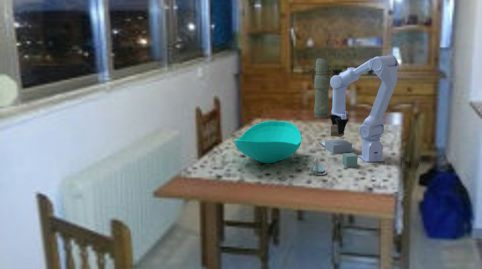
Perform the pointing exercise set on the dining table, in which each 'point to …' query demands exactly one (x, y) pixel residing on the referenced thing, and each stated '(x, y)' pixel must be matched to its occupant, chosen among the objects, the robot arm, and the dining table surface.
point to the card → (322, 144)
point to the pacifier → (318, 168)
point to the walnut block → (335, 131)
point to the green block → (350, 160)
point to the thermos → (321, 87)
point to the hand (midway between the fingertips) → (338, 132)
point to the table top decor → (270, 141)
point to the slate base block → (338, 146)
